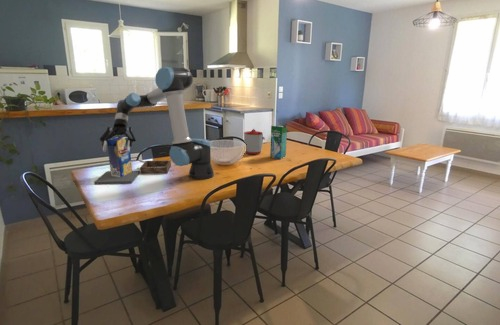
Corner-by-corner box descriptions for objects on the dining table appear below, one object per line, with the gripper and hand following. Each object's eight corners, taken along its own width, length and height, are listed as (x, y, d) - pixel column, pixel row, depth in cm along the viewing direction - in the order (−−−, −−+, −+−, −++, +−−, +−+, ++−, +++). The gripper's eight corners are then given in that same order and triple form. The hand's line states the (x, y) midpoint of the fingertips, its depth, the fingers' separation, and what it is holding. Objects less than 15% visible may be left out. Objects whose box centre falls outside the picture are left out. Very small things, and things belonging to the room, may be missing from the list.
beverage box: (132, 171, 185) (128, 137, 179) (121, 177, 175) (117, 140, 169) (122, 170, 187) (119, 136, 181) (111, 176, 176) (106, 139, 170)
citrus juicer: (265, 155, 235) (265, 130, 229) (243, 155, 235) (243, 130, 230) (264, 151, 250) (265, 127, 244) (243, 150, 250) (244, 127, 245)
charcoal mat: (140, 172, 188) (139, 170, 188) (131, 183, 169) (131, 181, 168) (107, 173, 186) (106, 171, 185) (94, 184, 167) (94, 181, 166)
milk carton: (285, 157, 232) (287, 125, 225) (280, 159, 225) (282, 126, 218) (275, 155, 237) (276, 124, 230) (270, 157, 230) (271, 125, 223)
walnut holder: (171, 166, 203) (170, 160, 202) (167, 173, 188) (166, 167, 187) (146, 166, 202) (145, 160, 201) (140, 173, 186) (139, 167, 185)
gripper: (143, 125, 190) (139, 153, 180) (102, 125, 187) (96, 154, 177) (140, 118, 183) (136, 147, 173) (97, 118, 180) (91, 147, 170)
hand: (116, 150), depth 175 cm, fingers open, 13 cm apart
